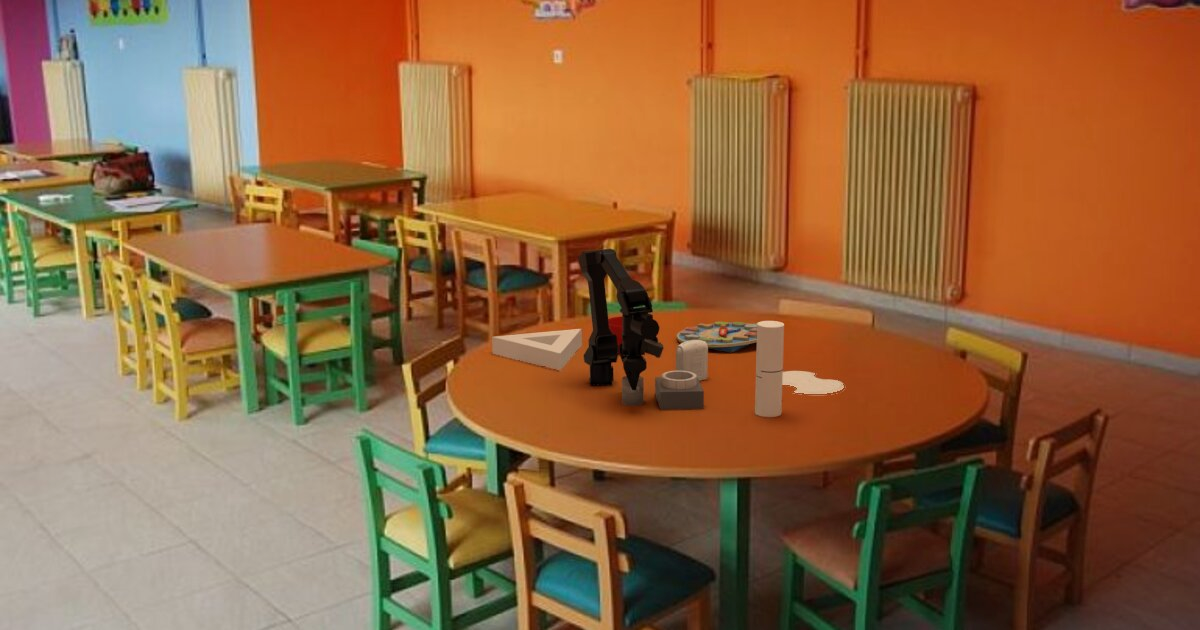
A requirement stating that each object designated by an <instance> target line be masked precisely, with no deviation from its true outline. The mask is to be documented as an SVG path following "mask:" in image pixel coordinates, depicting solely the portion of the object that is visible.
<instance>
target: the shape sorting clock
mask: <svg viewBox="0 0 1200 630" xmlns="http://www.w3.org/2000/svg"><path fill="white" fill-rule="evenodd" d="M676 339H677V341H678V342H679V343H680V344H682V343H684V342H686V341H690V340H702V341H705V342H706V343H707V346H708V350H715V351H720V352H726V353H731V352H733V353H735V352H737V351H739V350H741V349H743V348H745V347H747V346H749V344H750V345H752V344H755V343H756V344H757V323H747V322H742V321H732V322H728V321H715V322H713V323H707V324H706V323H698V324H697V325H696V326H687V327H685V329H682V330H681V331H679V332H678V333H677V334H676ZM734 351H735V352H734Z"/></svg>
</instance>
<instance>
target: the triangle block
mask: <svg viewBox="0 0 1200 630" xmlns="http://www.w3.org/2000/svg"><path fill="white" fill-rule="evenodd" d="M582 332H583V331H582V328H575V329H565V330H564V329H563V330H552V331H542V332H541V331H540V332H531V333H520V334H519V333H517V334H509V335H497V336H492V337H491V338H492V339H491V341H492V342H491V343H492V344H491V345H492V347H491V349H492V355H494V354H496V355H495V356H498V355H500V356H499V357H502V356H503V358H506V357H507V359H510V358H512V359H511V360H514V359H515V360H514V361H518V360H520V361H519V362H521V361H523V362H522V363H525V362H528V363H527V364H529V363H532V364H531V365H533V364H536V365H535V366H537V365H541V366H546V367H550V368H553V369H557V370H561V369H562V368H563V367H564V366H565V364H566V363H567V362H568V361H569V360H570V361H571V359H572V358H573V357H574V356H575V354H576V353H577V352H578V351H579V350H580V348H581V347H582V346H583V344H582V343H583V339H582V338H583V337H582V336H583V335H582ZM578 349H579V350H578ZM577 350H578V351H577ZM576 351H577V352H576ZM575 352H576V353H575ZM573 355H574V356H573ZM572 356H573V357H572ZM571 357H572V358H571ZM570 358H571V359H570ZM570 361H569V362H570ZM569 362H568V363H569ZM568 363H567V364H568ZM567 364H566V365H567ZM541 366H540V367H541ZM565 367H566V366H565ZM565 367H564V368H565ZM564 368H563V369H564ZM553 369H552V370H553ZM563 369H562V370H563ZM562 370H561V371H562Z"/></svg>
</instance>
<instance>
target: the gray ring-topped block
mask: <svg viewBox="0 0 1200 630" xmlns="http://www.w3.org/2000/svg"><path fill="white" fill-rule="evenodd" d="M654 380H655V382H654V383H655V385H654V387H655V388H654V394H655V397H656V401H657V404H658V406H659V409H660V410H691V409H692V410H693V409H695V410H696V409H697V410H698V409H704V403H705V402H704V399H705V396H704V395H705V393H704V392H705V391H704V389H703V388H704V387H702V384H701V383H700V381H699V379H698V377H697V376H696V374H695V373H692V372H689V371H676V370H670V371H666V372H665V371H664V372H663V373H661V376H656V377H655V379H654Z"/></svg>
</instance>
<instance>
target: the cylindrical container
mask: <svg viewBox="0 0 1200 630" xmlns="http://www.w3.org/2000/svg"><path fill="white" fill-rule="evenodd" d="M756 324H757V342H756V350H755V351H756V353H755V354H756V355H755V357H756V359H755V360H756V362H755V393H754V395H755V396H754V397H755V398H754V399H755V400H754V401H755V402H754V414H755V415H757V416H760V417H763V418H775V417H779V416H781V415H782V406H783V405H782V403H783V386H782V377H783V372H784V369H783V368H784V342H785V341H784V340H785V323H783V322H781V321H779V320H778V321H776V320H762V321H759V322H757V323H756Z"/></svg>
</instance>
